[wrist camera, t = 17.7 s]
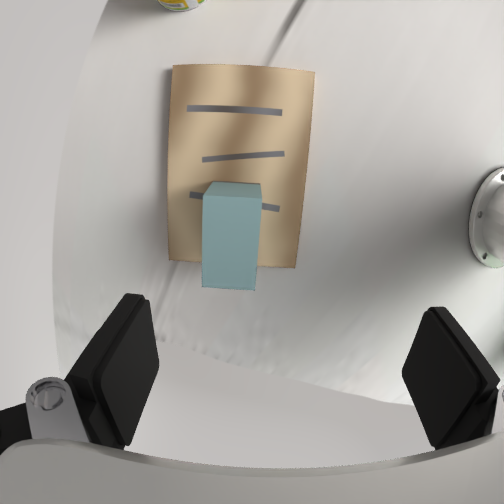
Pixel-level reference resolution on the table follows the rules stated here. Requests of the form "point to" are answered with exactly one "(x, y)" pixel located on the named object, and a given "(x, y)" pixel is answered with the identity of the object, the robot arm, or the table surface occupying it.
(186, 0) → the supplement bottle
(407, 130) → the table surface
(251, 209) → the block
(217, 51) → the table surface
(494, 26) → the table surface
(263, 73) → the board
